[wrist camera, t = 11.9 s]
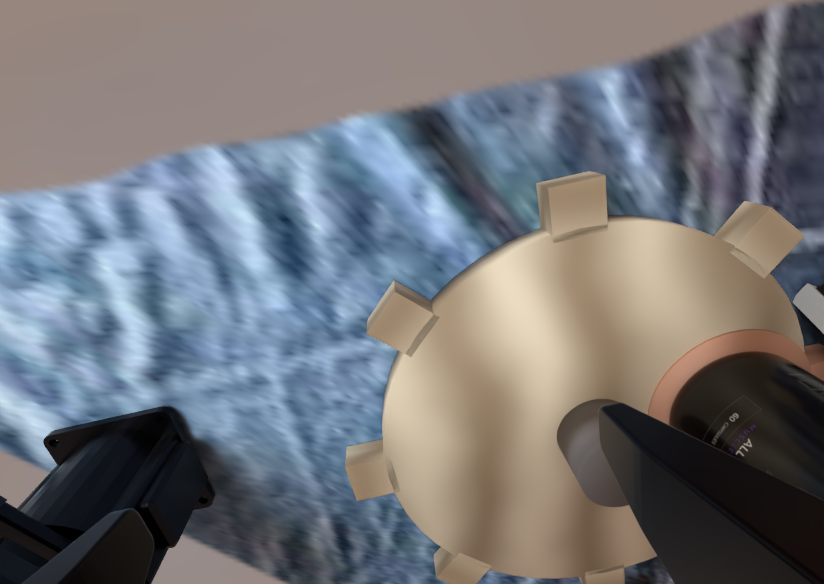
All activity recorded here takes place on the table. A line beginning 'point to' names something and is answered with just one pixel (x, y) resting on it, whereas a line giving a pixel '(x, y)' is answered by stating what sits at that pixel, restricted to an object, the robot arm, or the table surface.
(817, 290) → the white arched block
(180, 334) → the table surface
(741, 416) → the supplement bottle
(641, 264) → the sprocket wheel
